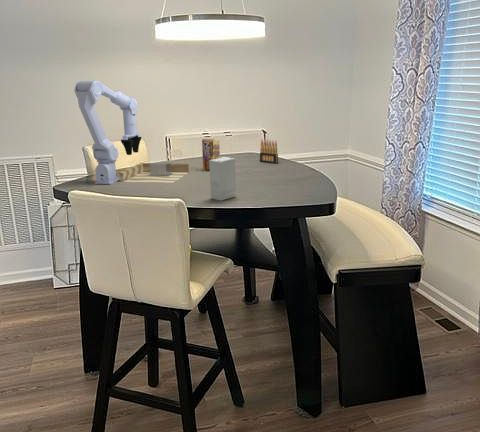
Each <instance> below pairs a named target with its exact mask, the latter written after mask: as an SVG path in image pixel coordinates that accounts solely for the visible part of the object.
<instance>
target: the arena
mask: <svg viewBox="0 0 480 432" xmlns="http://www.w3.org/2000/svg"><path fill="white" fill-rule="evenodd" d="M151 163H152V162H140V163H138V164H135V165H133V166H131V167H128V168H127V169H124V170H122V171H120V172H119V179H120V180H119V182H120V183H166V184H169V183H170V184H171V183H172V184H173V183H175V182H177V181H178V180H180V179H181V178H182V177H185V176H186V175H187V174H189V173H190V163H180V162H179V163H175V162H174V163H173V162H172V163H171V162H169V163H170V167H171V174H169V175H167V176H162V175H150V168H149V164H151ZM153 163H154V162H153ZM163 163H164V162H163ZM163 163H162V162H161V163H160V162H157V163H156V162H155V163H154V164H163Z"/></svg>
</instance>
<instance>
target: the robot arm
mask: <svg viewBox="0 0 480 432" xmlns="http://www.w3.org/2000/svg"><path fill="white" fill-rule="evenodd" d="M74 93H75V96H76V98H77V102H78V108H79V110H80V113H81V115H82V118H83V119H84V122H85V124H86V127H87V128H88V131H89V134H90V135H91V137H92V140H93V142H94V143H93V144H92V146H91V149H92V154H93V158H94V159H95V160H96V162H97V166H96V167H95V170H94V171H95V172H94V173H95V179H96V181H95V182H94V184H95V185H112V184H115V183H116V182H119V181H120V178H118V177H117V171H116V170H117V169H116V167H117V166H116V162H117V159H118V158H119V151H118V148H116V146H115V144H114V143H113V142H112V141H111V140H110V139H108V138H107V136H106V133H105V131H104V127H103V125H102V123H101V121H100V118H99V116H98V113H97V111H96V109H95V104H97V102H98V101H99V99H100V97H101V96H104V97H105V98H108V99H109V100H110V102H111V103H112V104H114V105H116V106H118V107H119V109H120V110H121V111H122V118H123V130H124V132H123V133H124V134H123V135H122V139H120V143H121V144H122V146H123V147H124V150H125V153H126V156H132V154H133V153H139V148H140V143H141V141H142V136H140V132H139V131H138V127H137V124H138V123H137V115H136V114H137V111H138V107H139V106H138V104H139V103H138V102H137V100H136V98H134V97H129V95H128V94H124V93H122V91H121V90H112V89H110V88H109V87H107V86H106V85H104V83H103V82H100V81H99V80H78V81H77V82H76V84H75V87H74Z"/></svg>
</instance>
